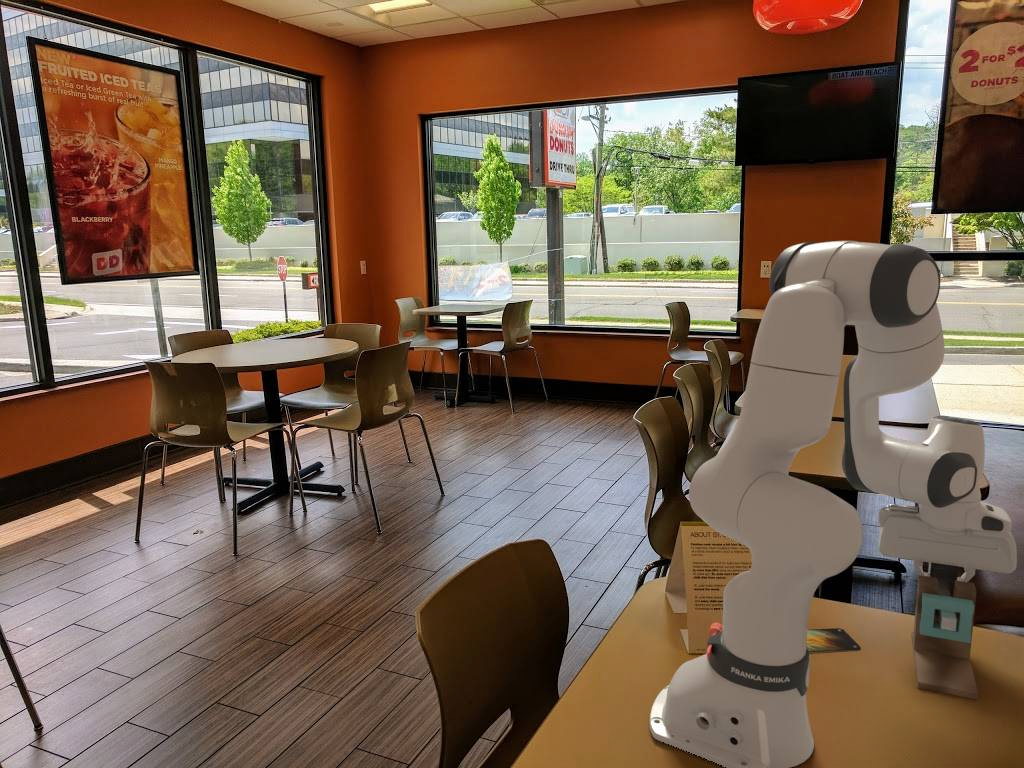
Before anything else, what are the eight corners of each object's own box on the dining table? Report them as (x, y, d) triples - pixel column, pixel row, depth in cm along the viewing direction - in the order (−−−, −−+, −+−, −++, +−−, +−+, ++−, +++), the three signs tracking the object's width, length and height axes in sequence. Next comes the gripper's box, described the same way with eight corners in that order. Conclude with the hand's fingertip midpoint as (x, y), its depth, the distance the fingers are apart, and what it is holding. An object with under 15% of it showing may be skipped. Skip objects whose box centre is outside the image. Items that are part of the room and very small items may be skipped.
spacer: (920, 634, 120) (923, 598, 118) (919, 628, 121) (922, 592, 120) (970, 643, 117) (974, 606, 116) (968, 636, 119) (972, 600, 117)
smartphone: (862, 649, 125) (776, 653, 124) (862, 652, 125) (776, 656, 124) (841, 627, 132) (760, 631, 131) (841, 631, 132) (760, 634, 131)
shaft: (933, 633, 116) (936, 592, 115) (926, 594, 129) (929, 557, 127) (962, 638, 115) (966, 597, 113) (952, 598, 127) (956, 560, 126)
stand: (917, 687, 114) (924, 610, 112) (911, 637, 128) (917, 567, 126) (977, 699, 111) (985, 620, 108) (964, 646, 125) (971, 575, 123)
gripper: (879, 508, 125) (874, 583, 128) (1023, 525, 116) (1014, 605, 119) (879, 496, 131) (873, 569, 133) (1016, 511, 122) (1007, 588, 125)
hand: (941, 586), depth 126 cm, fingers closed on shaft, 4 cm apart
